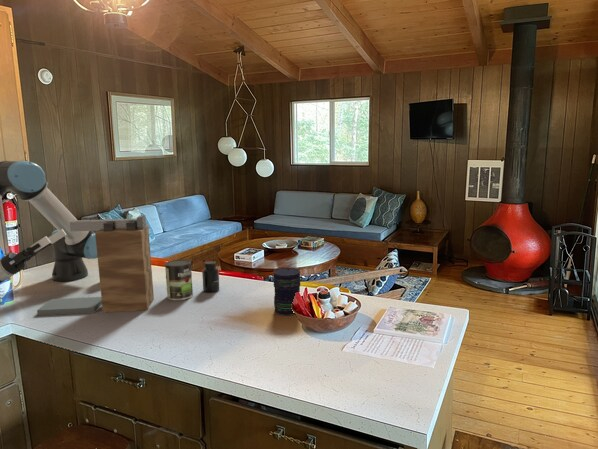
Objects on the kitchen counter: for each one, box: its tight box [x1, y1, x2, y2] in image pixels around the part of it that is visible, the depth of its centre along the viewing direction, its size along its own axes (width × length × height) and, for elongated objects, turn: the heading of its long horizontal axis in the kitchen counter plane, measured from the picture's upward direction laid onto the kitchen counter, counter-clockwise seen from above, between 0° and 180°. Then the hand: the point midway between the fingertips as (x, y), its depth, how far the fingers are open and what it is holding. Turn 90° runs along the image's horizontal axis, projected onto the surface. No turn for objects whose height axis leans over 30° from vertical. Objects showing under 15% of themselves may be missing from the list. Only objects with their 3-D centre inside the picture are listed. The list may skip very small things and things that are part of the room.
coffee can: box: [164, 259, 194, 301], centre depth 185 cm, size 10×10×14 cm
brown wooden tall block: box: [94, 222, 155, 313], centre depth 174 cm, size 12×16×33 cm
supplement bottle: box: [201, 260, 220, 293], centre depth 193 cm, size 7×7×12 cm
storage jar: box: [272, 267, 301, 317], centre depth 168 cm, size 10×10×15 cm
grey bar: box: [70, 215, 147, 232], centre depth 171 cm, size 5×26×4 cm, turn 96°
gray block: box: [36, 296, 102, 316], centre depth 175 cm, size 12×20×2 cm, turn 96°
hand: (56, 235), depth 169 cm, fingers open, 13 cm apart
